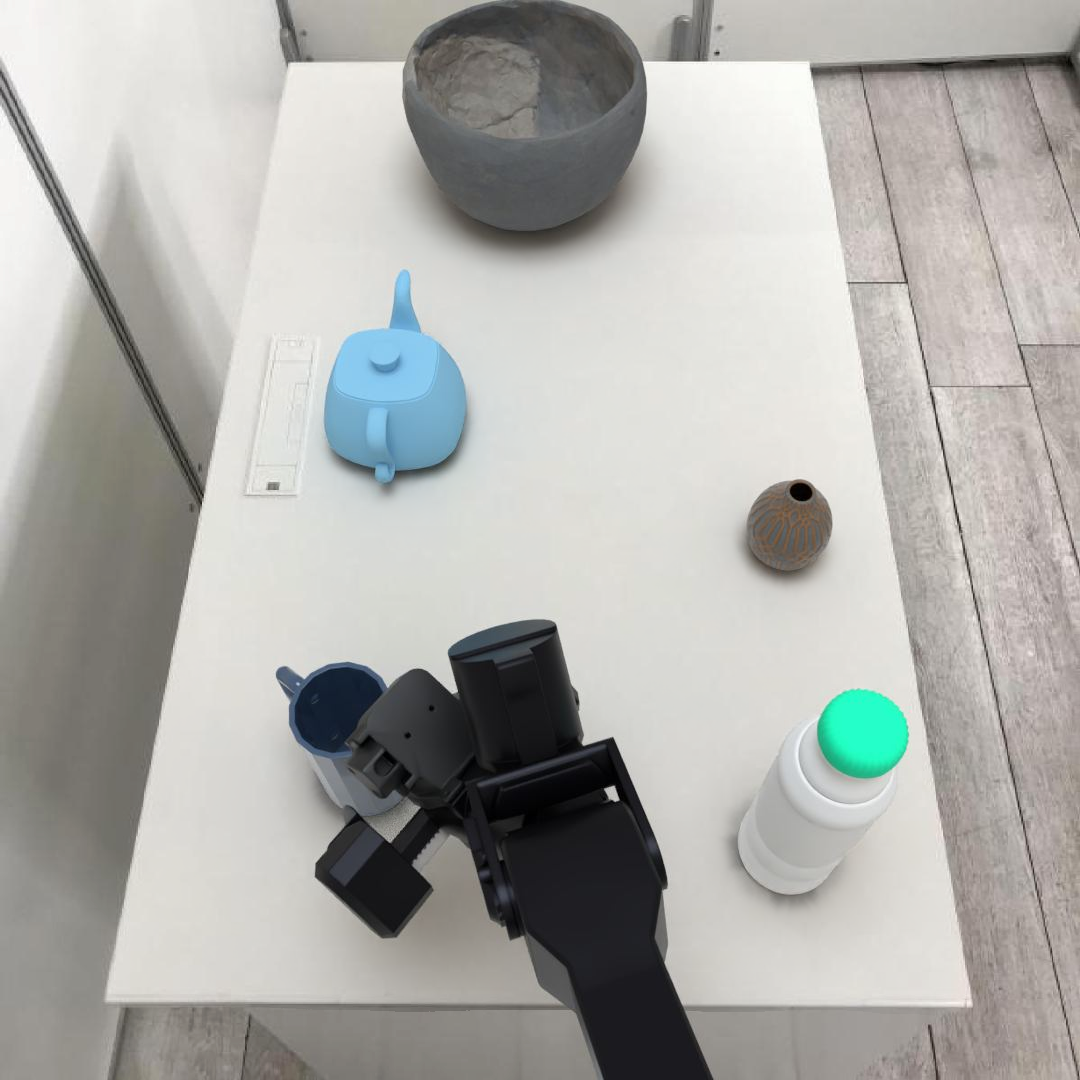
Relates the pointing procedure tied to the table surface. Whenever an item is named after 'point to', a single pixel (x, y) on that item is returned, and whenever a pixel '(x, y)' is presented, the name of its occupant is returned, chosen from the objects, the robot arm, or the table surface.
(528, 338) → the table surface
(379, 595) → the table surface
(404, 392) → the teapot
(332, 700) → the mug
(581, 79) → the bowl
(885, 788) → the water bottle
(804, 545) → the vase
